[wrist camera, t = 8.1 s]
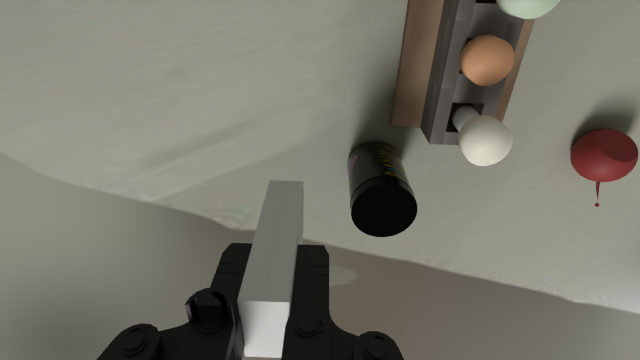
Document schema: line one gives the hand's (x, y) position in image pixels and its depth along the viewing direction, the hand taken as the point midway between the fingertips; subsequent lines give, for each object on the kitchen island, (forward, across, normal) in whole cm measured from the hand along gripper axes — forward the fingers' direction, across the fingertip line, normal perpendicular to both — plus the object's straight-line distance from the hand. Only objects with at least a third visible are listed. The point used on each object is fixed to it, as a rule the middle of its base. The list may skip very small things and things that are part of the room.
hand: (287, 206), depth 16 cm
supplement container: (+27, +8, -12) cm, 30 cm away
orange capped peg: (+25, +16, +3) cm, 30 cm away
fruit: (+27, +34, -10) cm, 44 cm away
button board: (+26, +16, +2) cm, 31 cm away
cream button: (+21, +16, -4) cm, 27 cm away
